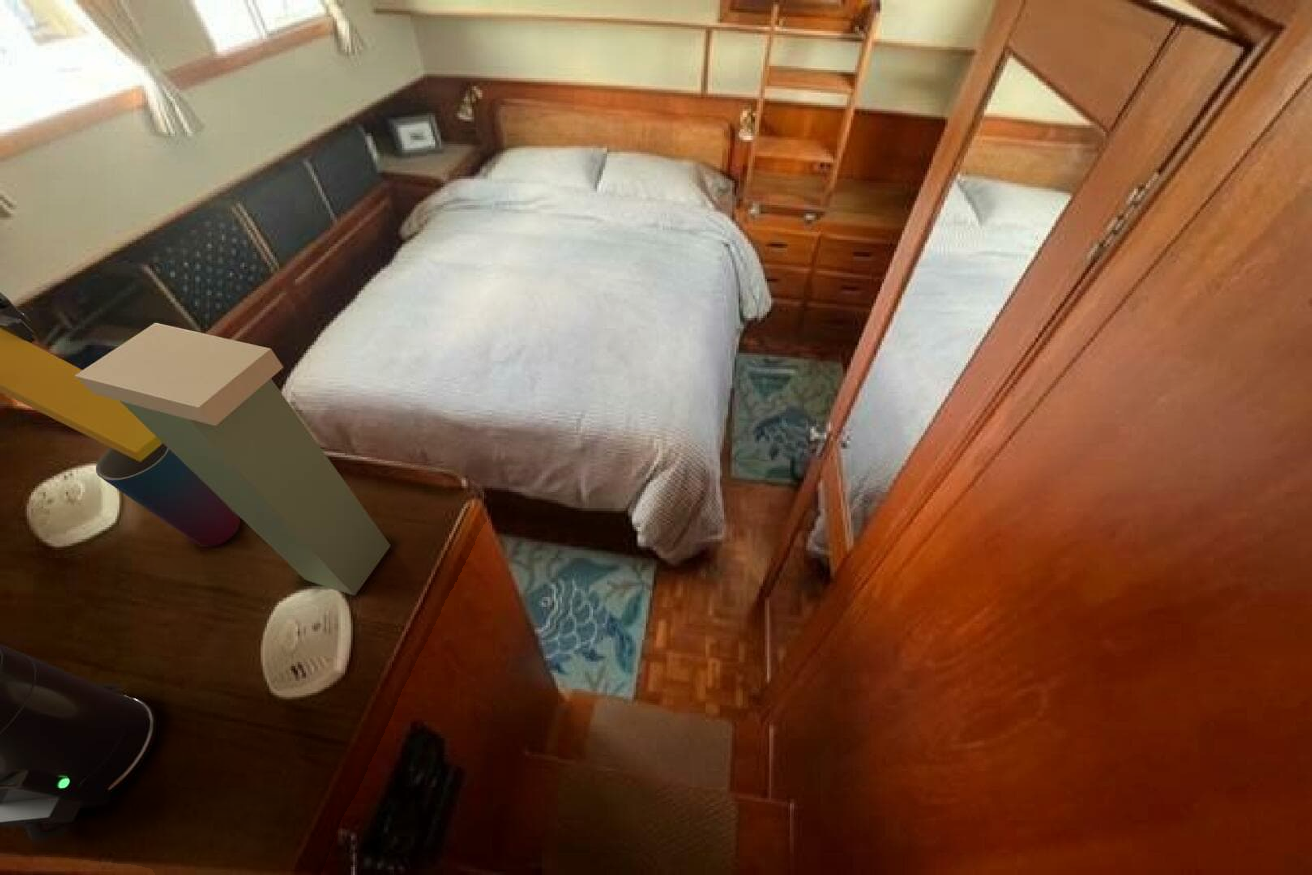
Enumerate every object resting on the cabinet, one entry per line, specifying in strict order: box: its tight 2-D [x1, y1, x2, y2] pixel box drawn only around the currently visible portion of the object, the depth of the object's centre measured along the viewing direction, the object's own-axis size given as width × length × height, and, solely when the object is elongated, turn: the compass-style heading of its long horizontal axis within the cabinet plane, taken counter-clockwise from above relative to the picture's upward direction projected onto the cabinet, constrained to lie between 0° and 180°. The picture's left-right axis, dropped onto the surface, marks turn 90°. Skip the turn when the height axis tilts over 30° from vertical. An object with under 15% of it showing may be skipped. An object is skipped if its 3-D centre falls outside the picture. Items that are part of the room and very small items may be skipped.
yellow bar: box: [0, 328, 163, 462], centre depth 50 cm, size 20×4×2 cm, turn 74°
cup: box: [95, 443, 241, 548], centre depth 64 cm, size 7×7×15 cm
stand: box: [75, 322, 391, 597], centre depth 54 cm, size 12×7×32 cm, turn 73°
